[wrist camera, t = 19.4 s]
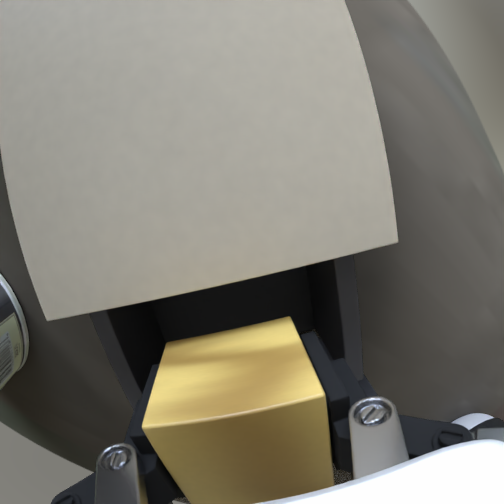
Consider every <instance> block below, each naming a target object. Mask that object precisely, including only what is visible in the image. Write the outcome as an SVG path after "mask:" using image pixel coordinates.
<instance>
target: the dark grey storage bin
mask: <svg viewBox="0 0 504 504" xmlns="http://www.w3.org/2000/svg"><path fill="white" fill-rule="evenodd" d="M89 314H90V317H91V319H92V322H93V324H94V327H95V329H96V332H97V334H98V336H99V339H100V341H101V343H102V346H103V348H104V350H105V353H106V355H107V357H108V359H109V361H110V364H111V366H112V368H113V370H114V372H115V374H116V376H117V378H118V381H119V383H120V385H121V387H122V389H123V391H124V393H125V395H126V396H127V398H128V400H129V402H130V404H131V406H132V408H133V410H134V409H135V406H136V403H137V401H138V400H139V399H141V398H142V395H143V392H144V389H145V386H146V382H147V379H148V377H149V374H150V371H151V368H152V365H155V364H160V362H161V358H162V355H163V352H164V349H165V346H166V343H167V342H171V341H176V340H181V339H187V338H192V337H197V336H202V335H207V334H212V333H217V332H222V331H226V330H231V329H236V328H240V327H245V326H249V325H254V324H258V323H262V322H267V321H271V320H275V319H279V318H284V317H288V316H289V317H291V319H292V321H293V323H294V326H295V328H296V330H297V332H298V333H300V332H304V331H308V330H312V329H316V330H317V332H318V334H319V335H320V337H321V338H318V339H319V341H320V343H321V345H322V346H323V348H324V350H325V352H326V354H327V355H328V357H329V359H330V361H333V360H337V359H340V358H344V360H345V361H346V363H347V364H348V366H349V367H350V369H351V371H352V372H353V374H354V376H355V377H356V379H357V380H358V382H359V384H360V385H361V387H362V389H363V390H364V392H365V393H366V395H367V397H372V396H378V395H377V394H376V392H375V391H374V389H373V387H372V386H371V384H370V383H369V381H368V380H367V378H366V377H365V375H364V374H363V356H362V339H361V325H360V313H359V302H358V291H357V282H356V273H355V264H354V256H353V254H351V255H347V256H343V257H339V258H335V259H331V260H327V261H323V262H319V263H315V264H311V265H306V266H302V267H298V268H294V269H290V270H286V271H281V272H277V273H273V274H268V275H264V276H260V277H256V278H251V279H247V280H242V281H238V282H234V283H229V284H225V285H220V286H216V287H211V288H207V289H202V290H198V291H193V292H189V293H184V294H179V295H175V296H170V297H165V298H161V299H156V300H151V301H146V302H142V303H137V304H132V305H127V306H122V307H117V308H112V309H107V310H102V311H97V312H92V313H89Z"/></svg>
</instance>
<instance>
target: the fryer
mask: <svg viewBox="0 0 504 504" xmlns="http://www.w3.org/2000/svg"><path fill="white" fill-rule="evenodd" d="M0 149H1V156H2V163H3V170H4V175H5V181H6V186H7V192H8V197H9V201H10V206H11V210H12V215H13V219H14V223H15V227H16V231H17V234H18V238H19V242H20V245H21V249H22V252H23V255H24V259H25V262H26V265H27V268H28V271H29V274H30V277H31V280H32V283H33V286H34V289H35V292H36V294H37V297H38V300H39V302H40V305H41V308H42V310H43V313H44V315H45V318H46V320H47V321H51V320H56V319H61V318H67V317H72V316H77V315H82V314H87V313H92V312H97V311H102V310H107V309H112V308H117V307H122V306H127V305H132V304H137V303H142V302H146V301H151V300H156V299H161V298H165V297H170V296H175V295H179V294H184V293H189V292H193V291H198V290H202V289H207V288H211V287H216V286H220V285H225V284H229V283H234V282H238V281H242V280H247V279H251V278H256V277H260V276H264V275H268V274H273V273H277V272H281V271H286V270H290V269H294V268H298V267H302V266H306V265H311V264H315V263H319V262H323V261H327V260H331V259H335V258H339V257H343V256H347V255H351V254H355V253H359V252H363V251H367V250H371V249H375V248H379V247H383V246H387V245H391V244H395V243H398V234H397V224H396V216H395V207H394V200H393V192H392V185H391V179H390V173H389V166H388V161H387V155H386V149H385V144H384V139H383V134H382V129H381V124H380V120H379V115H378V111H377V107H376V102H375V98H374V94H373V90H372V86H371V82H370V79H369V75H368V71H367V68H366V64H365V61H364V57H363V54H362V51H361V47H360V44H359V41H358V38H357V35H356V32H355V29H354V26H353V23H352V20H351V17H350V14H349V11H348V9H347V6H346V3H345V0H0Z"/></svg>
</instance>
